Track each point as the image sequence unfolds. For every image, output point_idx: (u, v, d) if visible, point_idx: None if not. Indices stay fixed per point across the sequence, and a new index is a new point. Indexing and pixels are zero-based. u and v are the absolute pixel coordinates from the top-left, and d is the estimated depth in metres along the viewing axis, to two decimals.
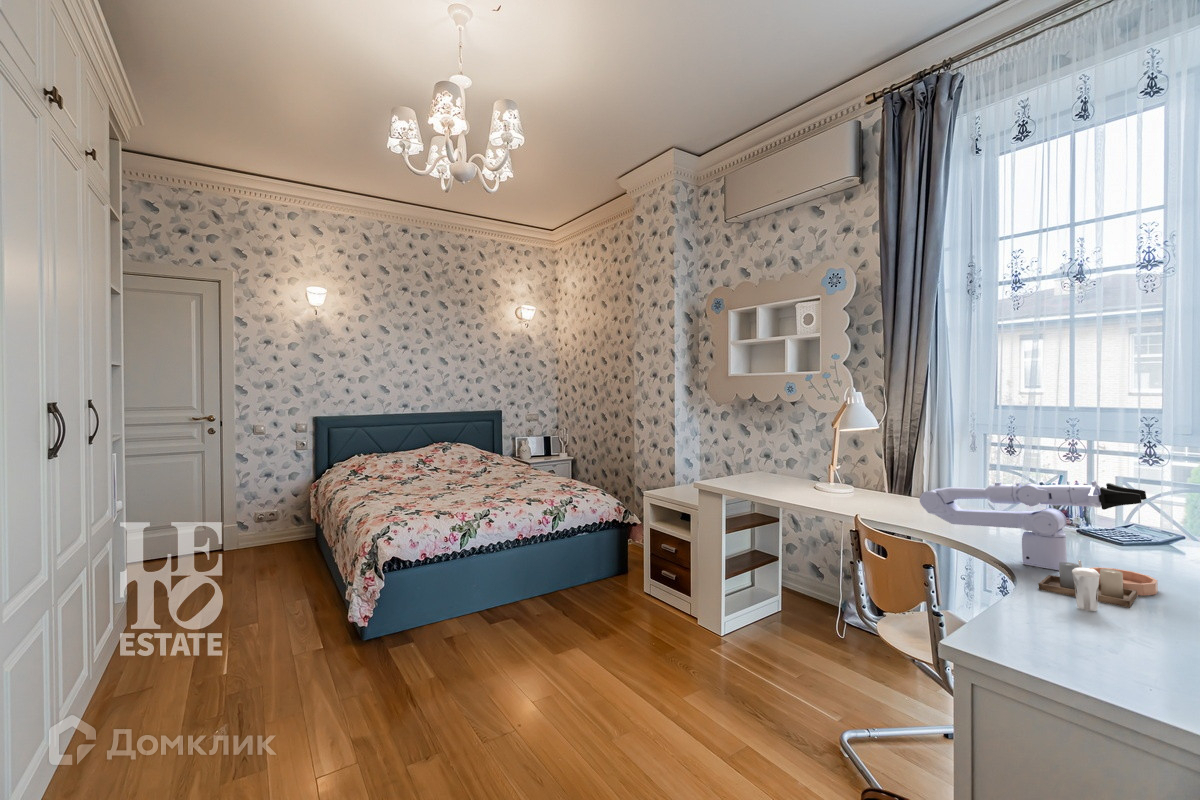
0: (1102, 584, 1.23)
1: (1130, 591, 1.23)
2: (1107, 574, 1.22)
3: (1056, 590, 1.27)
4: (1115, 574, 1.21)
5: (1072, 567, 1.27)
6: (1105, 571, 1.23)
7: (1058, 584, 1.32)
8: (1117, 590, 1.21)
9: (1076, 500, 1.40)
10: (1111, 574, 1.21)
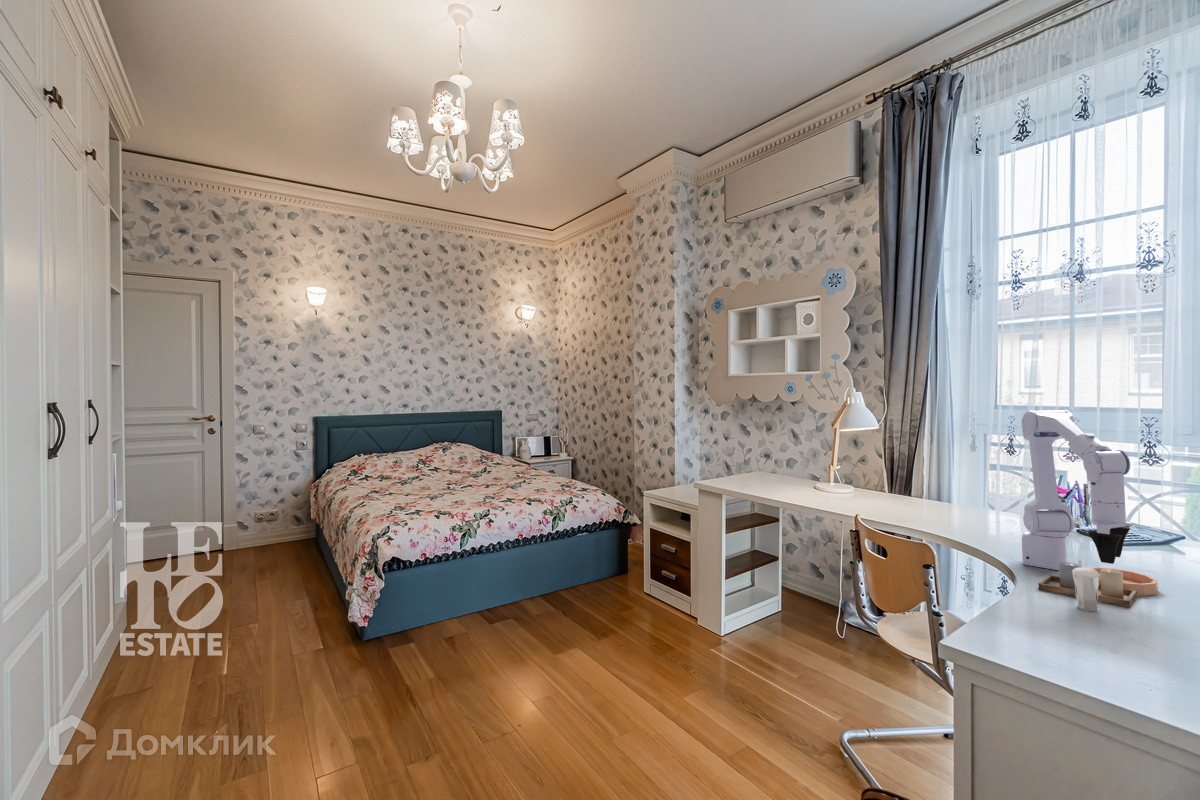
0: (1102, 584, 1.23)
1: (1130, 591, 1.23)
2: (1107, 574, 1.22)
3: (1056, 590, 1.27)
4: (1115, 574, 1.21)
5: (1072, 567, 1.27)
6: (1105, 571, 1.23)
7: (1058, 584, 1.32)
8: (1117, 590, 1.21)
9: (1099, 507, 1.22)
10: (1111, 574, 1.21)
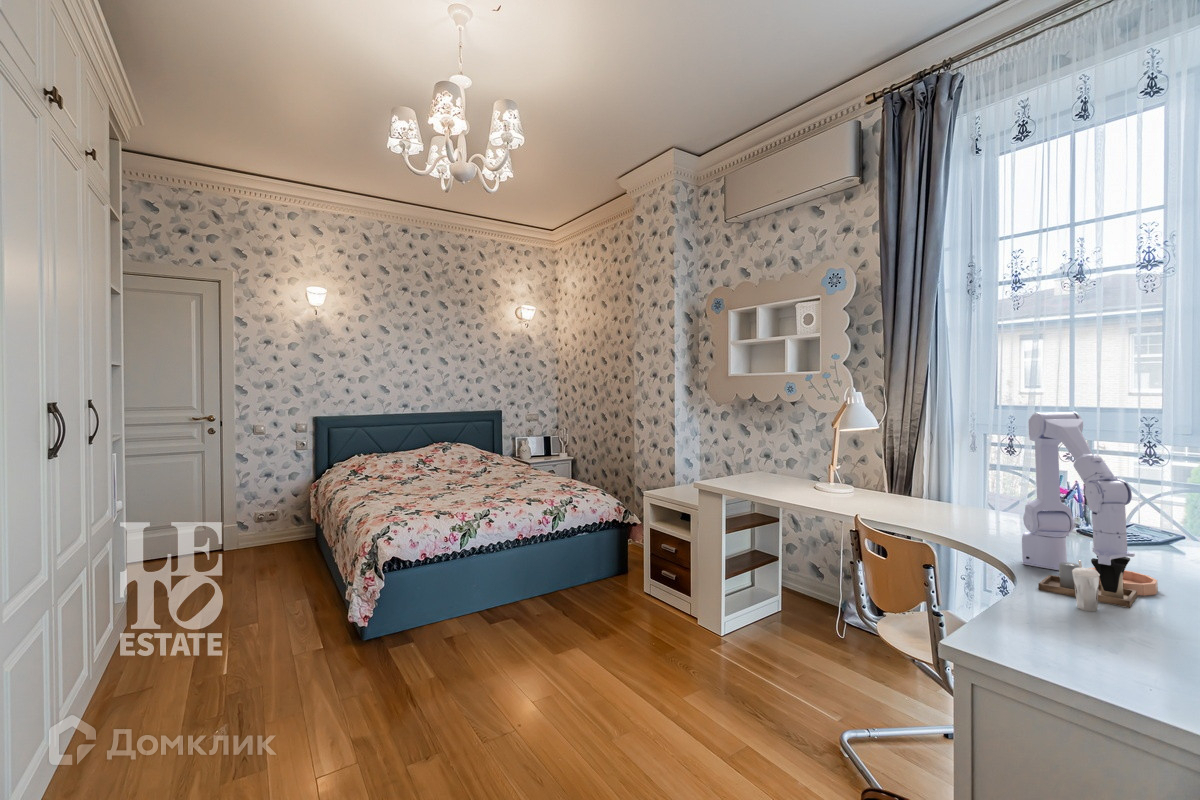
0: None
1: (1130, 591, 1.23)
2: None
3: (1056, 590, 1.27)
4: None
5: (1072, 567, 1.27)
6: None
7: (1058, 584, 1.32)
8: (1117, 590, 1.21)
9: (1101, 537, 1.22)
10: None
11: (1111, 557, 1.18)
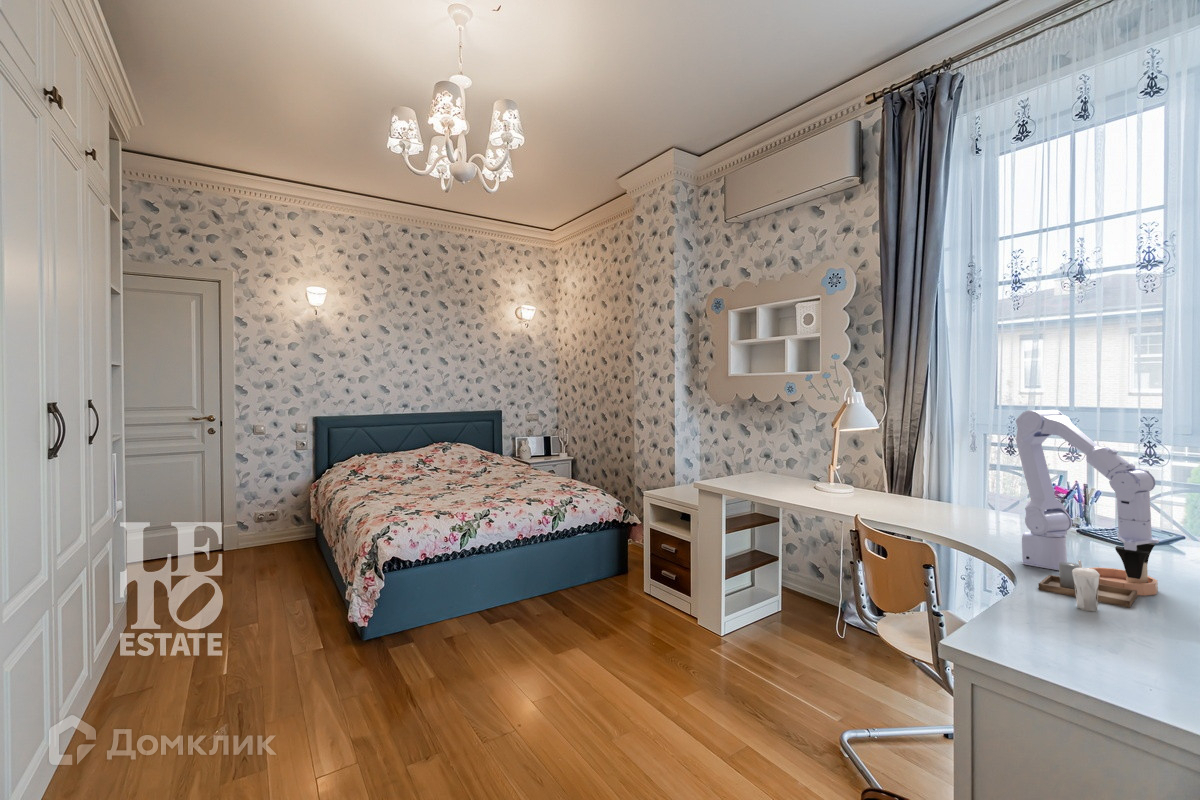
0: None
1: (1130, 591, 1.23)
2: None
3: (1056, 590, 1.27)
4: None
5: (1072, 567, 1.27)
6: None
7: (1058, 584, 1.32)
8: (1143, 580, 1.26)
9: (1126, 524, 1.27)
10: None
11: (1137, 543, 1.23)
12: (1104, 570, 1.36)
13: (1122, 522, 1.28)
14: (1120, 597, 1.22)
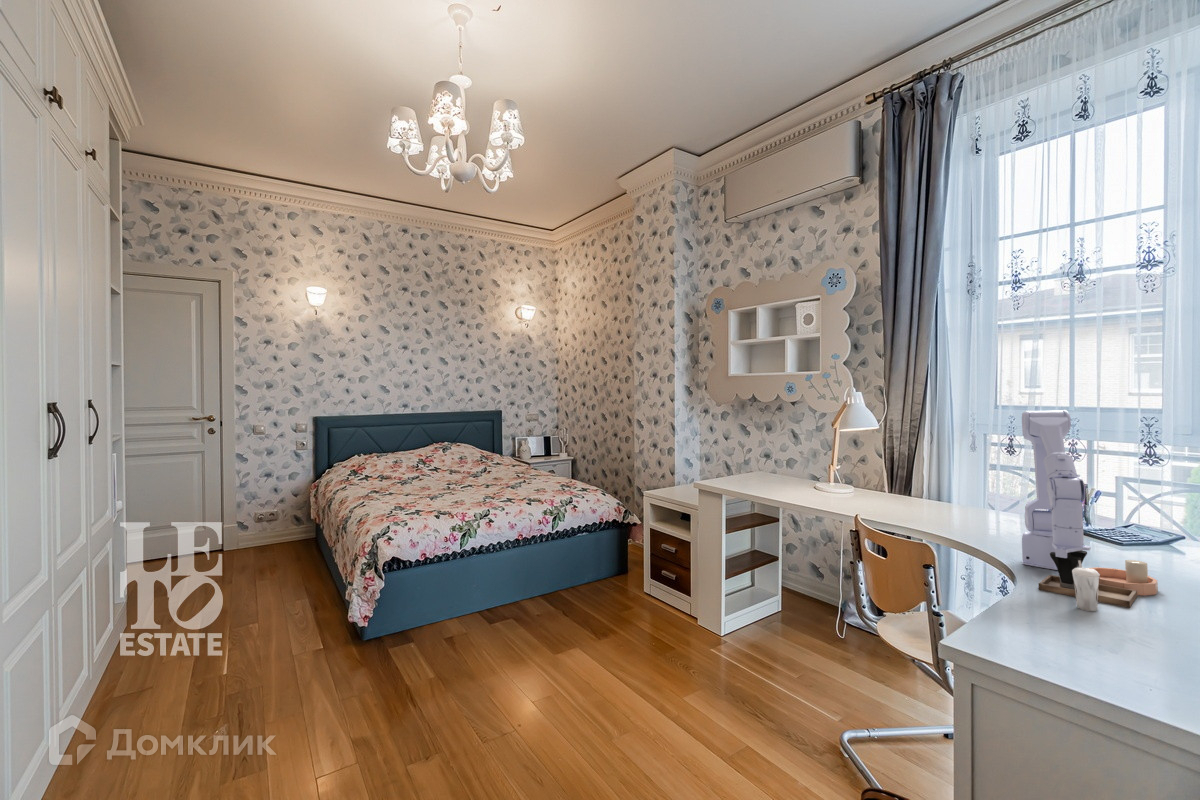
0: (1128, 575, 1.28)
1: (1130, 591, 1.23)
2: (1133, 565, 1.27)
3: (1056, 590, 1.27)
4: (1141, 565, 1.26)
5: None
6: (1130, 562, 1.28)
7: (1058, 584, 1.32)
8: (1143, 580, 1.26)
9: (1059, 531, 1.28)
10: (1137, 565, 1.26)
11: (1067, 550, 1.24)
12: (1104, 570, 1.36)
13: (1055, 529, 1.29)
14: (1120, 597, 1.22)
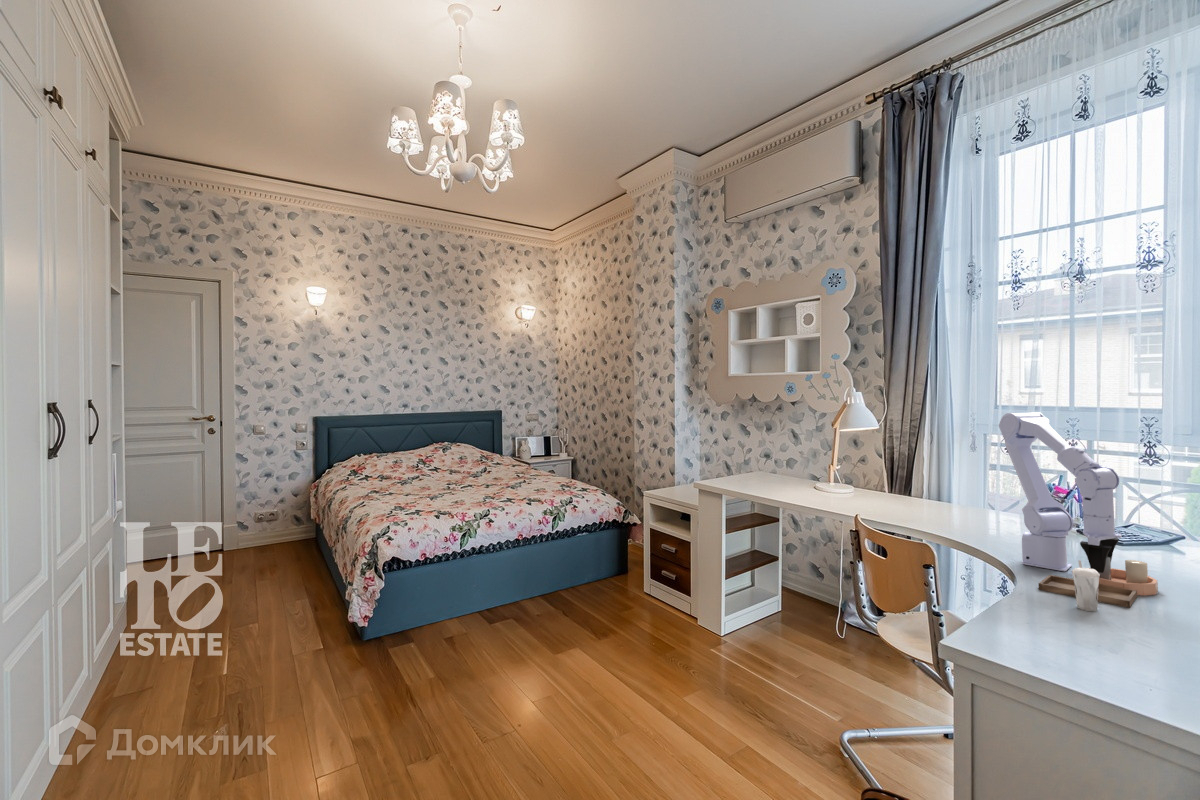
0: (1128, 575, 1.28)
1: (1130, 591, 1.23)
2: (1132, 565, 1.27)
3: (1056, 590, 1.27)
4: (1141, 565, 1.26)
5: None
6: (1130, 562, 1.28)
7: (1058, 584, 1.32)
8: (1143, 580, 1.26)
9: (1090, 520, 1.32)
10: (1137, 565, 1.26)
11: (1100, 538, 1.28)
12: None
13: (1087, 518, 1.33)
14: (1120, 597, 1.22)
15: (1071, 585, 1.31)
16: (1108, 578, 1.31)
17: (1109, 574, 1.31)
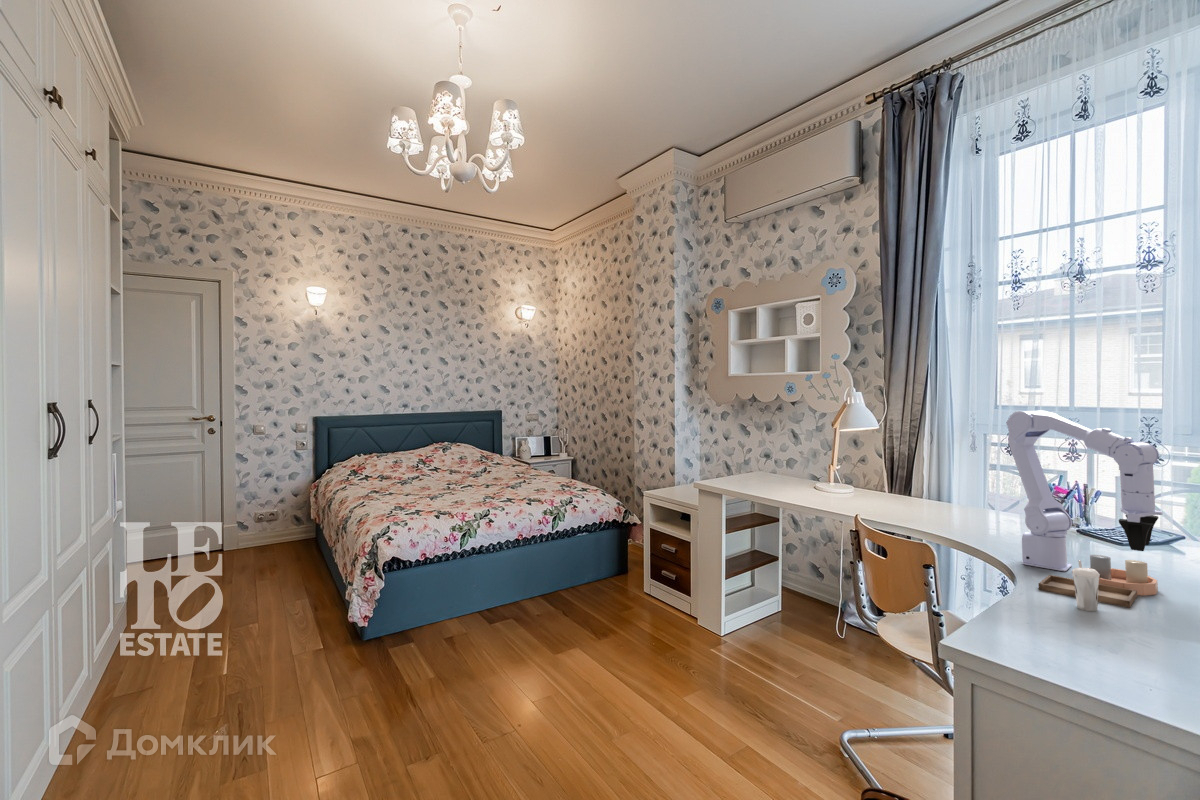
0: (1128, 575, 1.28)
1: (1130, 591, 1.23)
2: (1132, 565, 1.27)
3: (1056, 590, 1.27)
4: (1141, 565, 1.26)
5: (1104, 559, 1.31)
6: (1130, 562, 1.28)
7: (1058, 584, 1.32)
8: (1143, 580, 1.26)
9: (1129, 497, 1.27)
10: (1137, 565, 1.26)
11: (1140, 515, 1.23)
12: None
13: (1125, 495, 1.27)
14: (1120, 597, 1.22)
15: (1071, 585, 1.31)
16: (1108, 578, 1.31)
17: (1109, 574, 1.31)
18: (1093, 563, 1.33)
